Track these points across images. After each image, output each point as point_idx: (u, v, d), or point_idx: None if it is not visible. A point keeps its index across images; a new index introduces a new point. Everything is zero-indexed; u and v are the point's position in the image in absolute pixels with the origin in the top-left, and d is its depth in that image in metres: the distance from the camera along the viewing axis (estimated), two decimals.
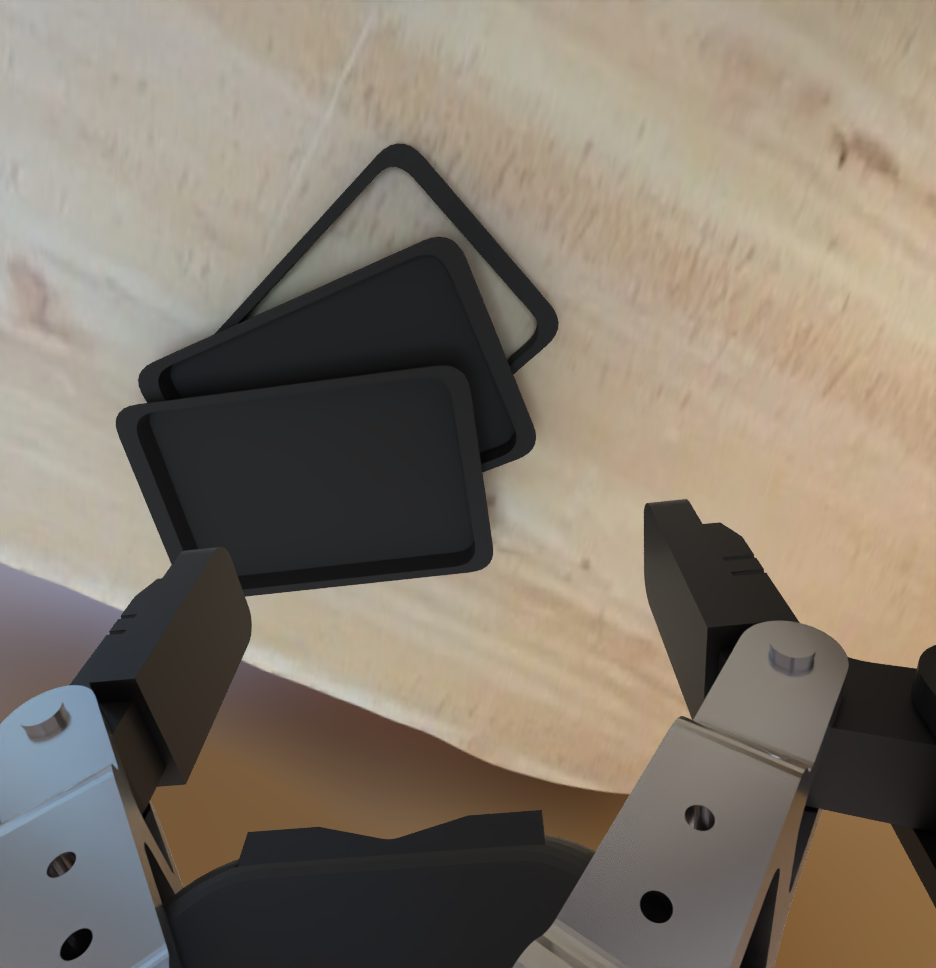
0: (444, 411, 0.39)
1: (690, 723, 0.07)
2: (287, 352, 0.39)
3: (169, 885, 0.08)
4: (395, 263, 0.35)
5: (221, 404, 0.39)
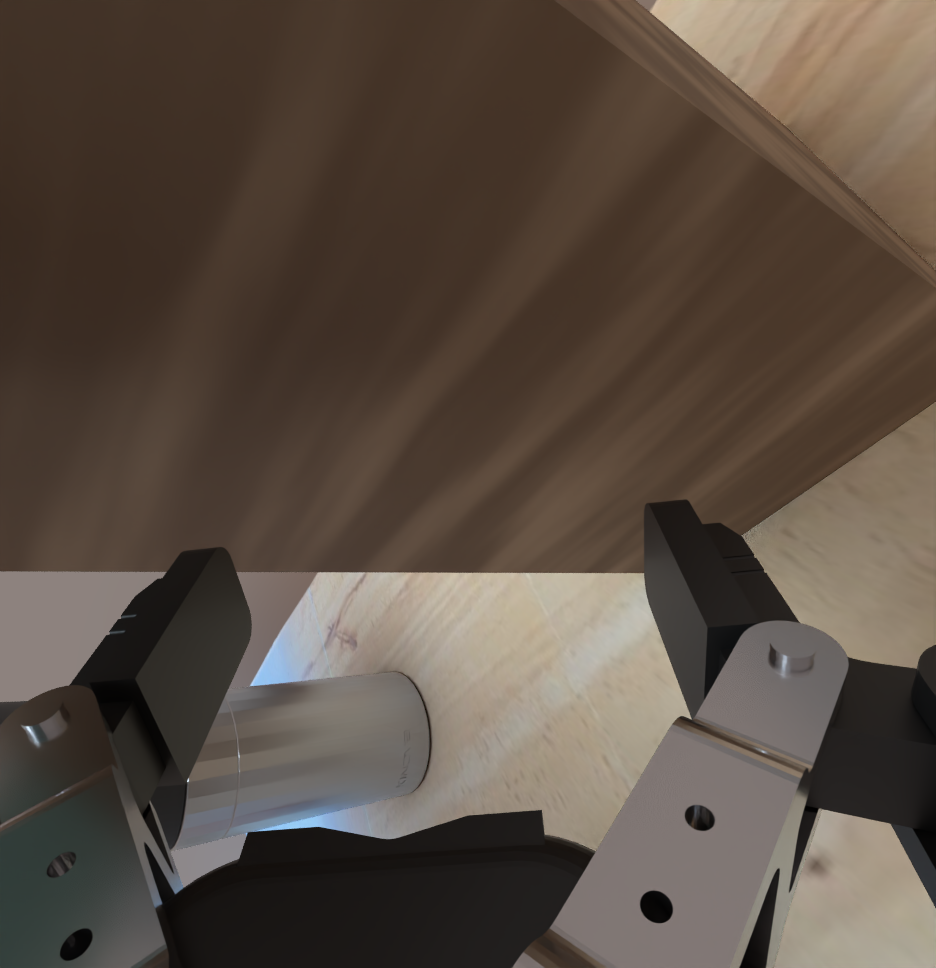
0: None
1: (690, 723, 0.07)
2: None
3: (169, 885, 0.08)
4: None
5: None
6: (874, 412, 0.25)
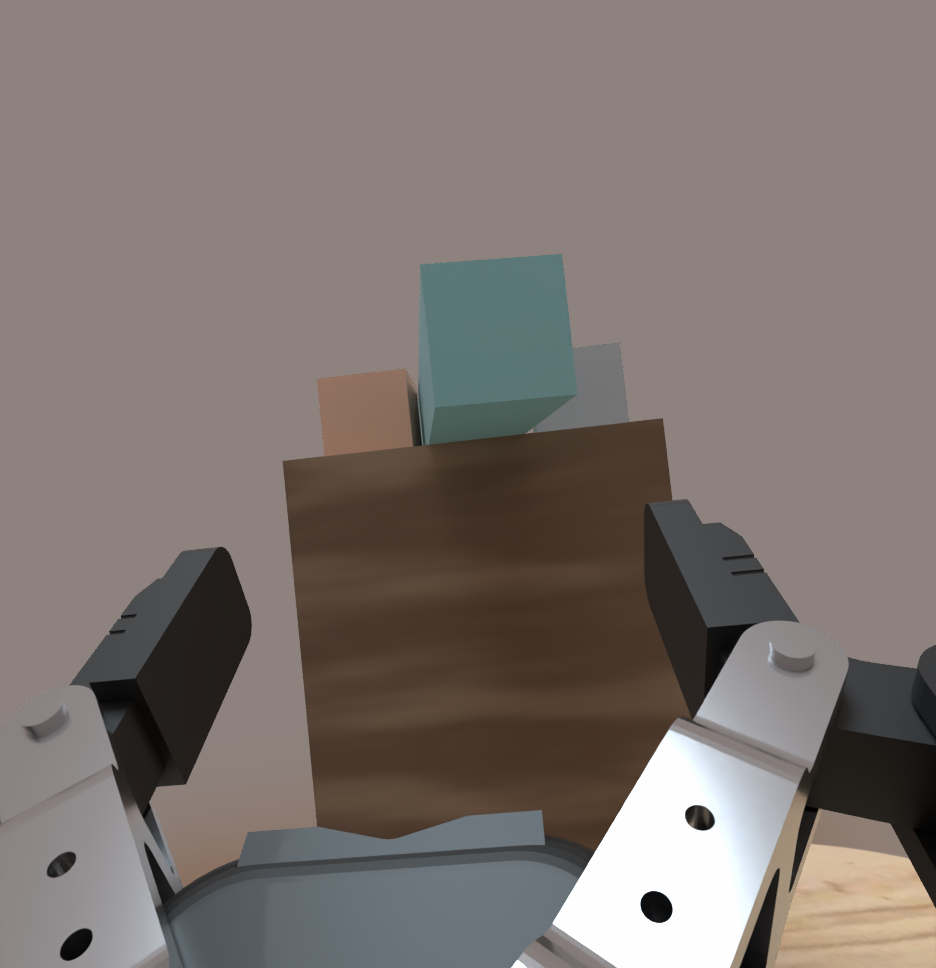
0: None
1: (690, 723, 0.07)
2: None
3: (169, 885, 0.08)
4: None
5: None
6: None
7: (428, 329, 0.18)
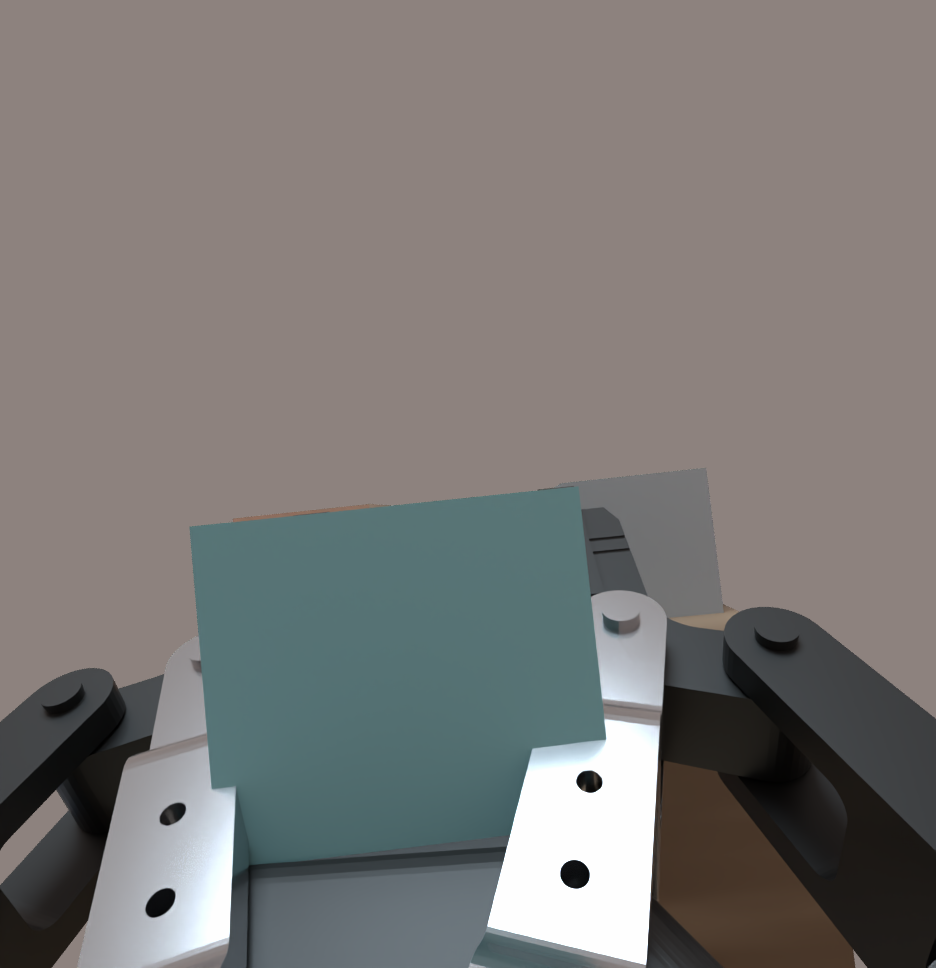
0: None
1: None
2: None
3: None
4: None
5: None
6: None
7: (208, 706, 0.07)
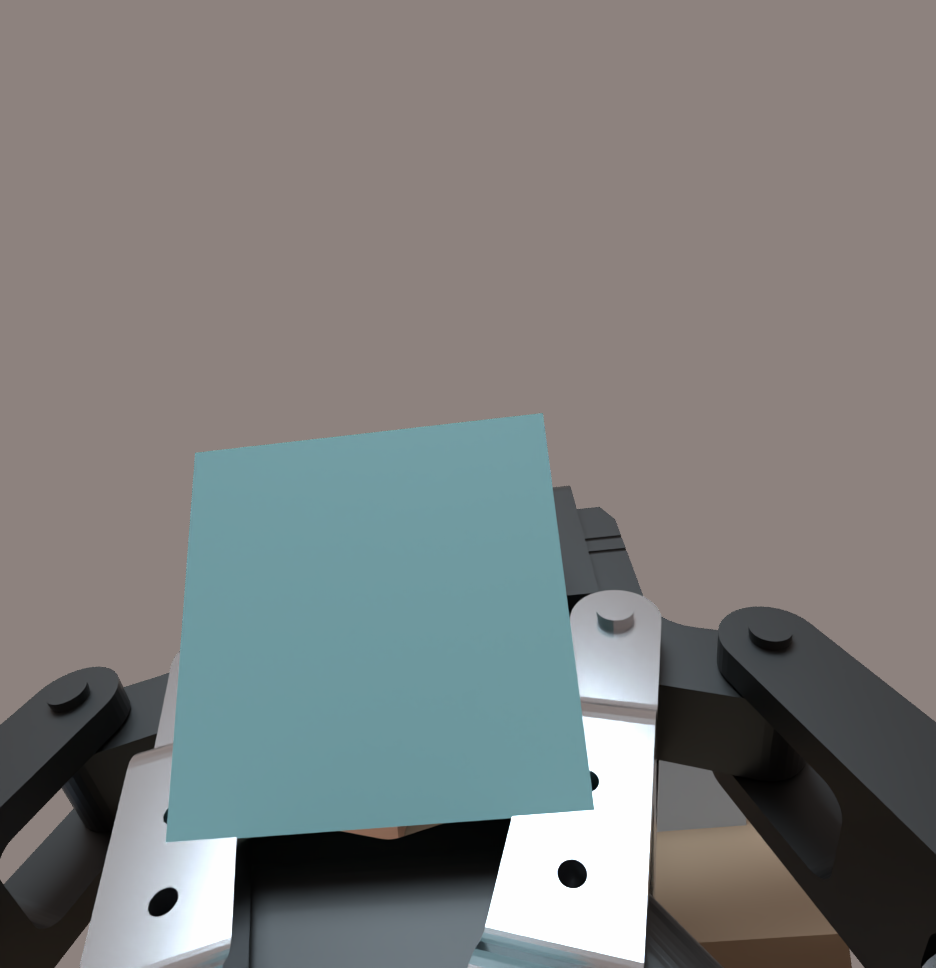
0: None
1: None
2: None
3: None
4: None
5: None
6: None
7: (186, 611, 0.07)
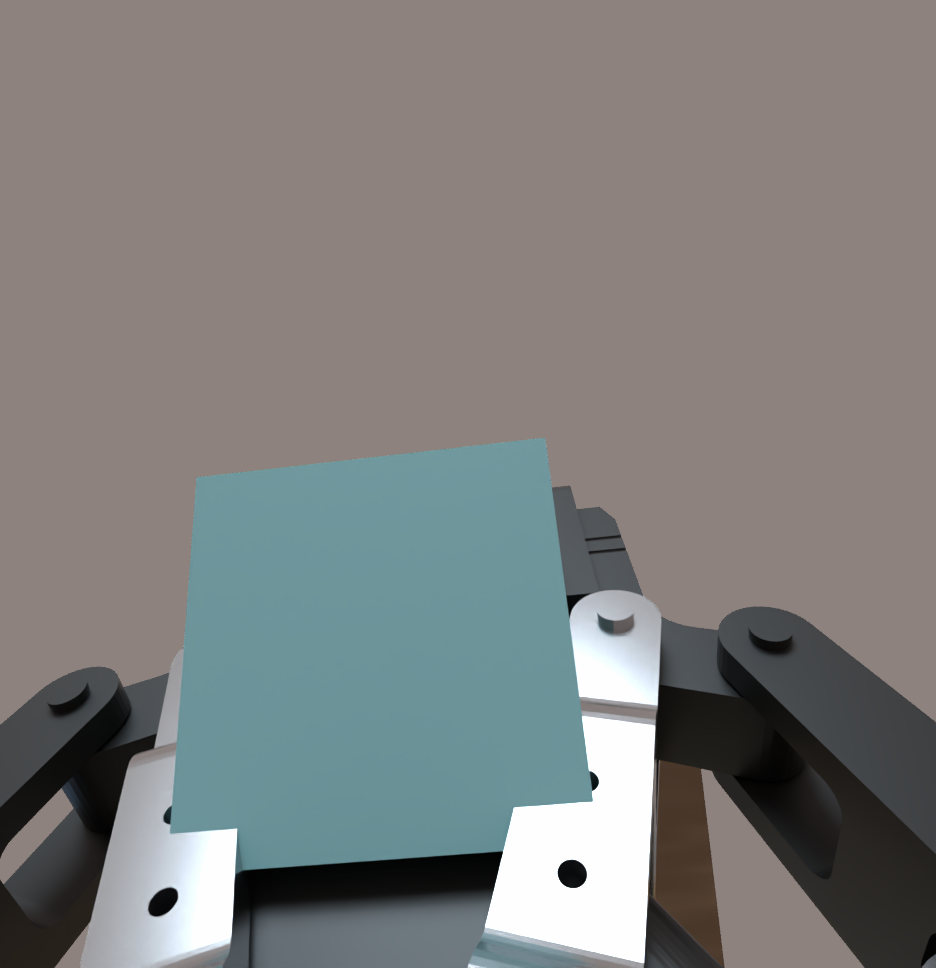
0: None
1: None
2: None
3: None
4: None
5: None
6: None
7: (187, 638, 0.07)
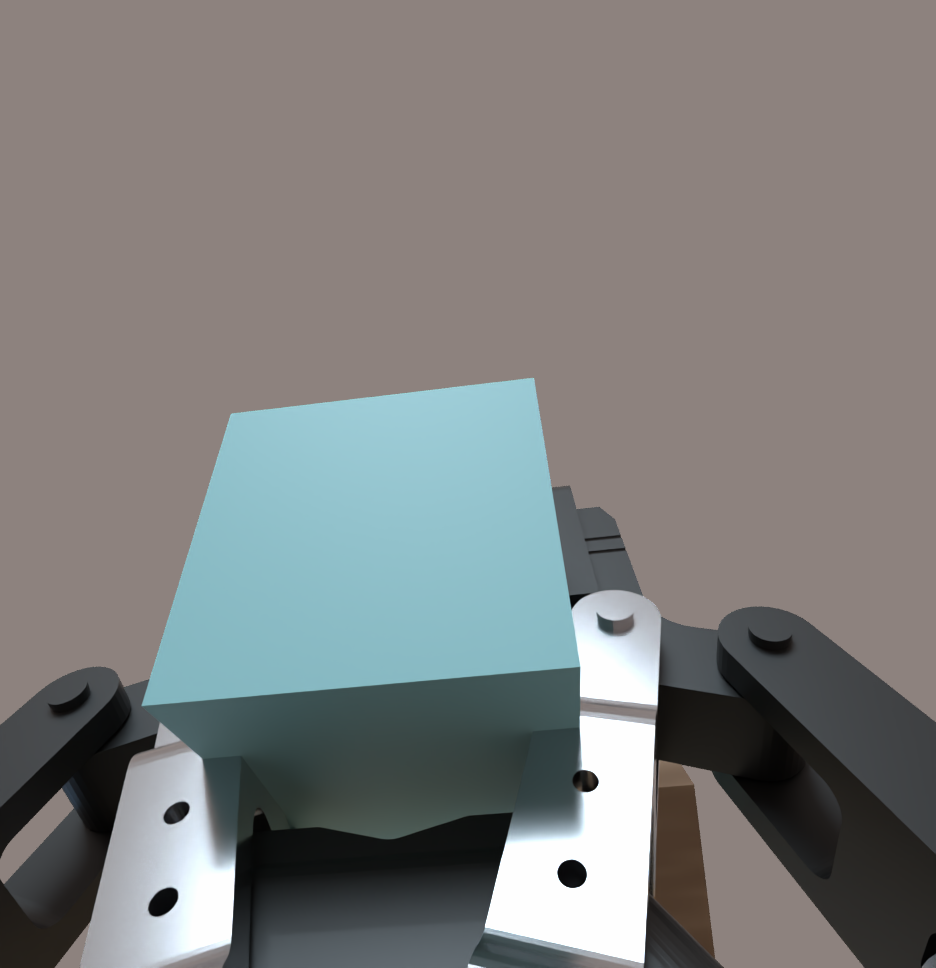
0: None
1: None
2: None
3: None
4: None
5: None
6: None
7: (201, 520, 0.08)
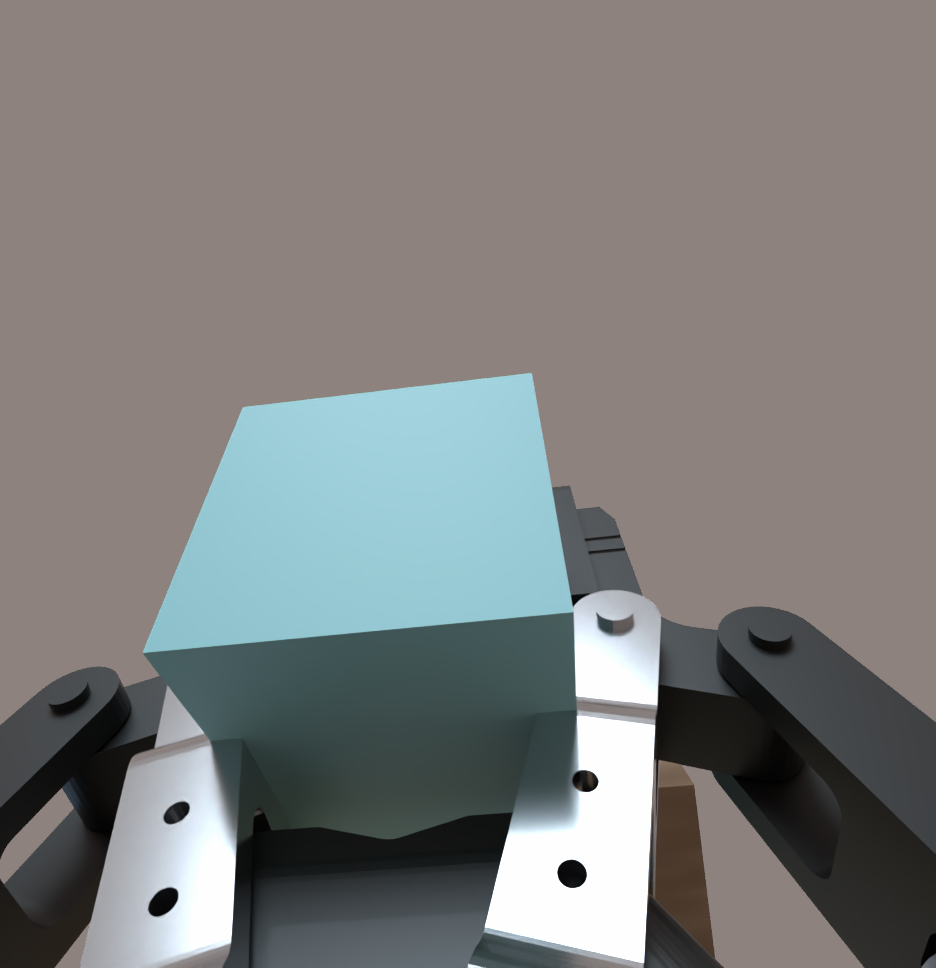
0: None
1: None
2: None
3: None
4: None
5: None
6: None
7: (209, 495, 0.08)
